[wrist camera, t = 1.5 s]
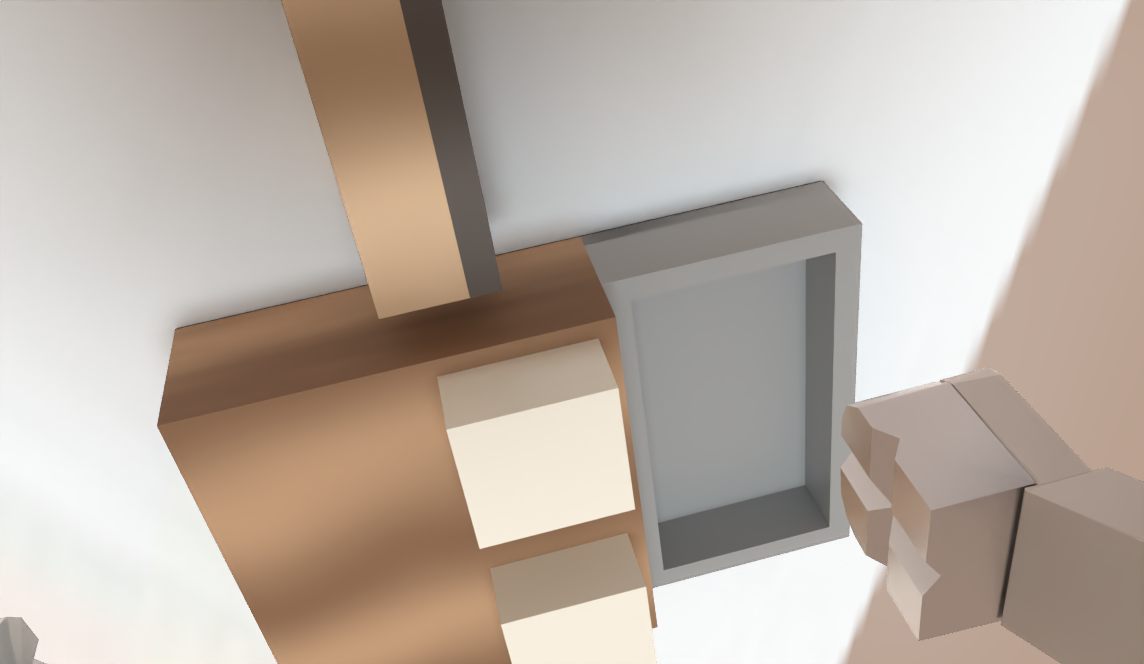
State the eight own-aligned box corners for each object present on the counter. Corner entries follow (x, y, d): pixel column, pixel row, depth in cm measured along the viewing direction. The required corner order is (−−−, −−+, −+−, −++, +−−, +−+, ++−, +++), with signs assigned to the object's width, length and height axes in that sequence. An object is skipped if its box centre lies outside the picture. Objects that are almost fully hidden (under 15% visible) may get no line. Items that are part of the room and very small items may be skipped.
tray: (580, 236, 28) (601, 284, 26) (822, 180, 28) (862, 223, 26) (625, 534, 35) (644, 590, 33) (818, 484, 35) (849, 535, 33)
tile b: (490, 568, 28) (500, 624, 27) (627, 533, 29) (646, 586, 27) (513, 654, 31) (525, 711, 29) (640, 621, 31) (658, 675, 30)
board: (175, 329, 27) (157, 426, 23) (580, 236, 28) (615, 317, 24) (306, 616, 34) (306, 720, 31) (625, 534, 35) (657, 626, 32)
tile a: (437, 376, 24) (446, 430, 23) (598, 338, 25) (618, 388, 23) (469, 493, 27) (479, 549, 25) (615, 456, 27) (634, 509, 25)
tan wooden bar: (216, -277, 20) (201, -261, 17) (369, -304, 20) (379, -293, 17) (371, 246, 27) (378, 318, 24) (482, 221, 27) (502, 290, 24)
